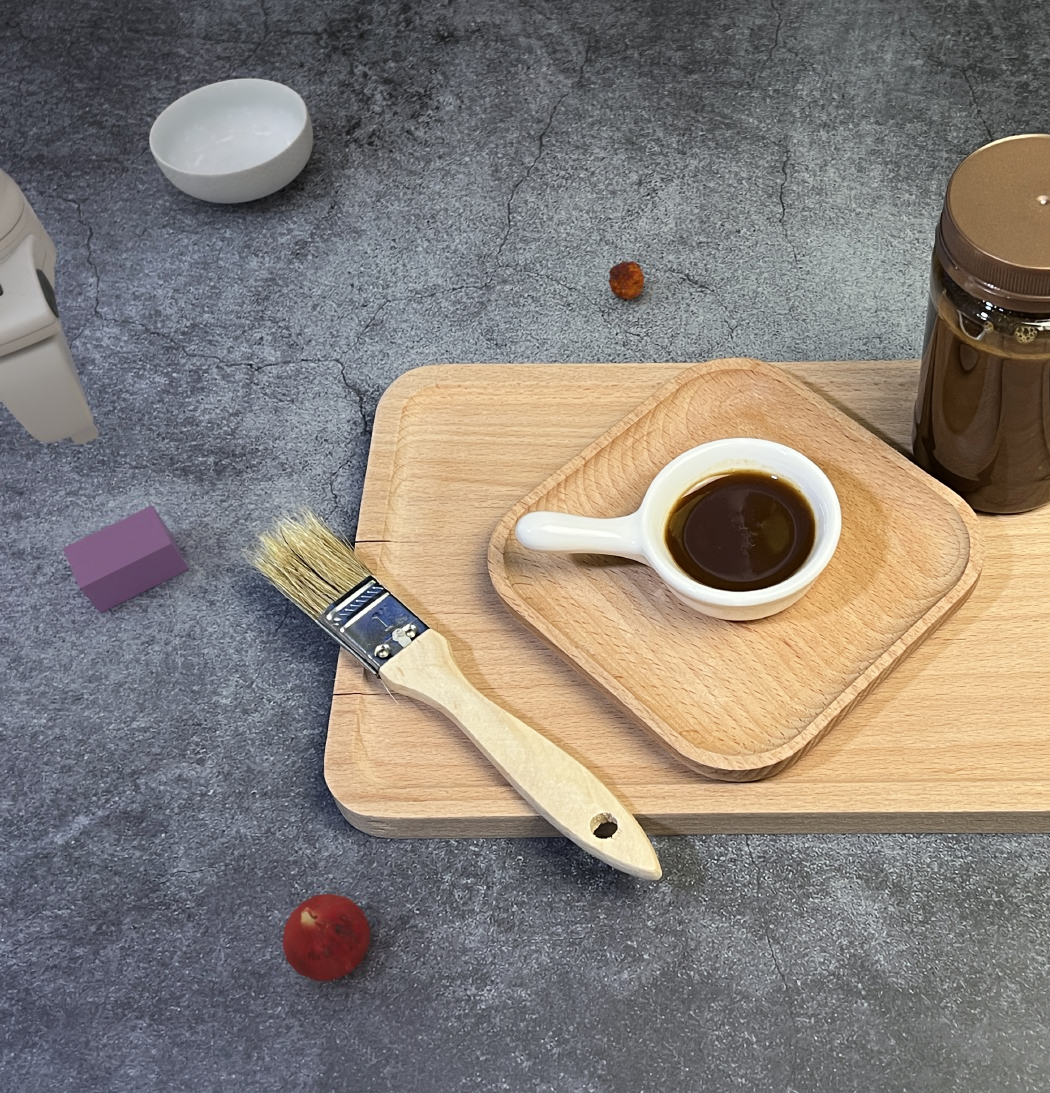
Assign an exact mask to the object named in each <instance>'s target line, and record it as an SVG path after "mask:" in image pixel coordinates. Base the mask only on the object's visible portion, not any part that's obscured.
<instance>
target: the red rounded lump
mask: <svg viewBox="0 0 1050 1093" xmlns="http://www.w3.org/2000/svg"><path fill="white" fill-rule="evenodd" d="M282 936H283V937H282V944H281V945H282V949H283V952H284V956H285V959H286V961H287V963H288V964H289V965H290V966H291V967H292V968H293V970H294V971H295V972H296V973H297V974H298V975H300V976H301V977H305V978H308V979H311V980H314V981H316V982H331V981H334V980H337V979H340V978H341V977H344V976H346V975H347V976H348V975H349V974H350V973H351V972H352V971H353V970H354V969H355V968H357V967H358V966H359V965H360V964H361V963H362V962H363V961H364V958H365V956H366V954H367V952H368V951H369V948H370V943H371V942H370V941H371V927H370V924H369V922H368V919H367V917H366V915H365V912H364V911H363V910H362V909H361V907H360V906H358V905H357V904H356V903H355V901H352V900H351V899H350V897H349V898H348V897H346V896H341V895H337V894H335V893H324V894H314V895H313V896H312V897H309V898H308V899H305V900H304V901H302V902H301V903H300V904H299V905H298V906H297V907H296V908H295V909H294V910H293V911H292V912H291V913H290V915H289V918H288V919H287V921H286V923H285V925H284V929H283V935H282Z"/></svg>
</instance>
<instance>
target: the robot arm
mask: <svg viewBox="0 0 1050 1093" xmlns="http://www.w3.org/2000/svg"><path fill="white" fill-rule="evenodd" d="M24 194H25V193H23V191H22V189H21V187H20V186H19V184H18V183H17V182H16V181H15V180H14V179H13V178H12V177H11V176H10V175H9V174H8V173H7V172H5V171H4V170H3V169H2V168H1V167H0V402H1V403H2V405H4V407H5V408H6V409H7V410H8V412H10V413H11V415H12V416H13V417H14V418H15V420H16V421H18V422H19V423H20V425H21V426H22V427H23V428H24V429H25V430H26V431H27V432H28V434H30V435H31V437H32V438H34V439H35V440H36V441H38V442H40V443H45V444H54V443H57V442H60V441H63V440H65V439H68V438H70V439H71V441H72V442H73V443H74V444H76V445H83V444H85V443H88V442H91V441H94V440H95V439H97V438H98V437H99V436H100V433H99V430H98V427H97V424H96V422H95V419H94V416H93V413H92V411H91V409H90V406H89V403H88V400H87V397H86V393H85V391H84V388H83V385H82V382H81V379H80V376H79V373H78V370H77V367H76V364H75V361H74V358H73V355H72V351H71V346H70V343H69V341H68V338H67V336H66V334H65V331H64V329H63V326H62V322H61V320H60V313H59V309H58V304H57V300H56V298H57V297H56V293H55V284H56V283H55V280H56V279H55V277H56V276H55V275H56V274H55V267H56V262H57V248H56V246H55V243H54V241H53V240H52V238H51V236H50V235H49V233H48V232H47V230H46V228H45V227H44V224H42V222H41V221H40V219H39V217H38V216H37V214H36V212H35V211H34V208H33V207H32V205H31V204H30V202H29V201H28V199H27V197H26V196H25V195H24Z"/></svg>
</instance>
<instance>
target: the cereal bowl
mask: <svg viewBox="0 0 1050 1093" xmlns="http://www.w3.org/2000/svg"><path fill="white" fill-rule="evenodd" d="M148 140H149V142H148V143H149V149H150V151H151V153H152V156H153V158H154V160H155V161H156V163H157V166H158V168H160V170H161V172H162V173H163V174H164V175H165V176H164V177H166V178H167V179H168V180H169V182H170V183H171V184H173V185H174V187H175V188H177V189H179V190H180V191H181V192H184V194H186V195H189V196H190V197H194V198H195V199H199V200H202V201H206V202H208V203H215V204H218V203H219V204H238V203H246V202H251V201H255V200H259V199H262V198H264V197H267V196H269V195H272V194H274V193H276V192H277V191H279V190H281V189H283V188H284V187H285V186H287V185H288V184H290V183H291V182H292V181H294V179H295V178H296V177H298V176H299V174H300V173H301V172H302V171H303V169H304V168H305V167H306V165H307V162H308V161H309V159H310V157H311V155H312V151H313V147H314V130H313V125H312V119H311V115H310V113H309V108H308V107H307V105H306V102H305V101H304V99H303V98H302V96H301V95H300V94H299V93H298V92H296V91H295V90H294V89H292V88H291V87H289V86H287V85H285V84H283V83H280V82H277V81H273V80H270V79H269V80H268V79H264V78H263V79H262V78H235V79H227V80H222V81H218V82H214V83H211V84H207V85H204V86H201V87H199V88H197V89H194V90H192V91H190V92H188V93H185V95H182V96H181V97H179V98H178V99H176V100H175V101H173V102H172V103H171V104H170V105H169V106H167V107H166V108H165V109H164V110H163V111H162V112H161V113H160V114H159V116H157V118H156V119H155V121H154V122H153V125H152V126H151V129H150V132H149V139H148Z"/></svg>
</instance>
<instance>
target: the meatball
mask: <svg viewBox="0 0 1050 1093" xmlns="http://www.w3.org/2000/svg"><path fill="white" fill-rule="evenodd" d="M609 277H610V278H609V279H608V283H609V287H610V289H611V292H612V293H613V294H614V295H616V297H617V298H621V299H625V300H631V299H634V298H636V297H637V296H639V294H641V293H642V290H643V289H644V285H645V281H644V280H645V276H644V274H643V271H642V268H641V265H640V264H639V263H638V262H635V261H621V262H619V263H617V264H616V265H614V266H612V267H611V268H610V269H609Z"/></svg>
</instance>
